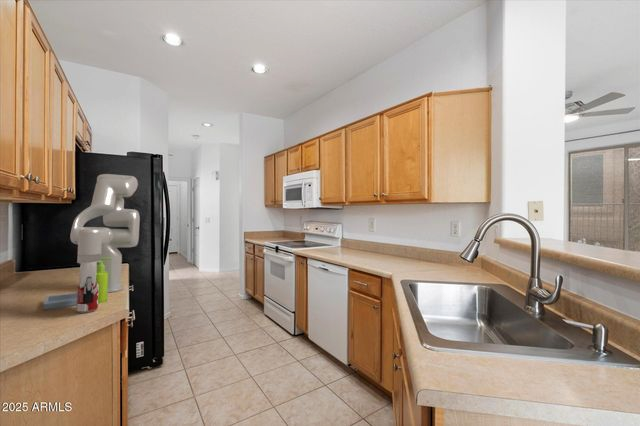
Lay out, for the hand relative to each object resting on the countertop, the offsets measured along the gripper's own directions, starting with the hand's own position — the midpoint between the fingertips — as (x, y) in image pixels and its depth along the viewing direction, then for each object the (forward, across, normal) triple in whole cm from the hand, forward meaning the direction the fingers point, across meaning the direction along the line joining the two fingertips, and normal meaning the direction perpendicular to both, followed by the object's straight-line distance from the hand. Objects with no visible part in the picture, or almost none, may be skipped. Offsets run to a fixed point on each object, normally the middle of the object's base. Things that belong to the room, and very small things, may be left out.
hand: (87, 300), depth 115 cm
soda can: (+5, 0, 0) cm, 5 cm away
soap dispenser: (+5, -12, +5) cm, 14 cm away
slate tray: (+4, -17, -7) cm, 19 cm away
